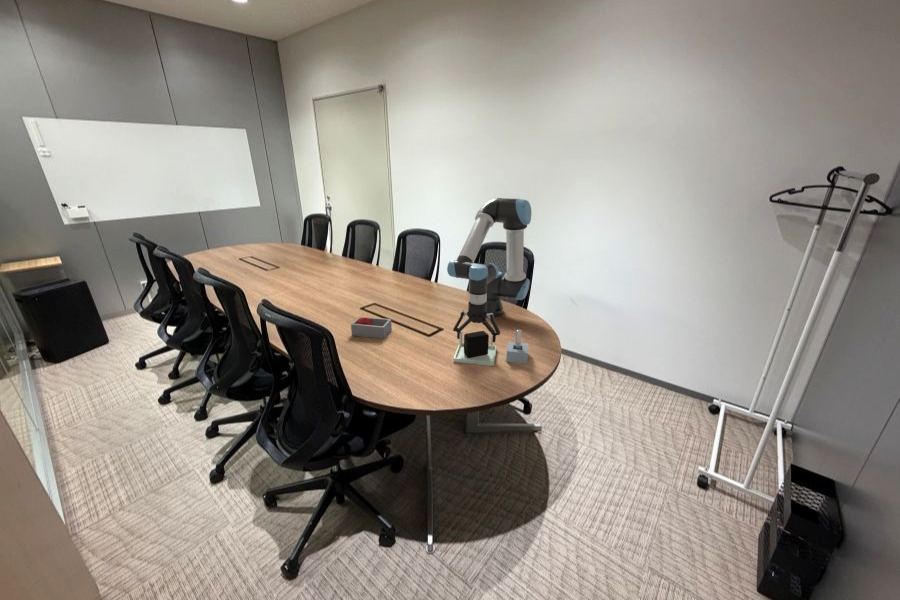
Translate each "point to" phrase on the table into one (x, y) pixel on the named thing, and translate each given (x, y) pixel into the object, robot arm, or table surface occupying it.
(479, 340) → the electronic device
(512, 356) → the square hole cube
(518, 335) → the cylinder
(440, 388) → the table surface
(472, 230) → the robot arm
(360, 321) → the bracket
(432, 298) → the table surface
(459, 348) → the tray
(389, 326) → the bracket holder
